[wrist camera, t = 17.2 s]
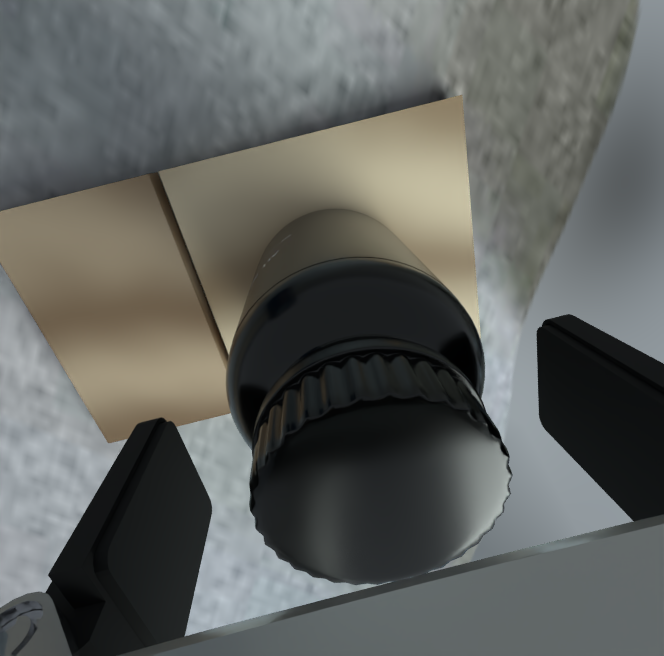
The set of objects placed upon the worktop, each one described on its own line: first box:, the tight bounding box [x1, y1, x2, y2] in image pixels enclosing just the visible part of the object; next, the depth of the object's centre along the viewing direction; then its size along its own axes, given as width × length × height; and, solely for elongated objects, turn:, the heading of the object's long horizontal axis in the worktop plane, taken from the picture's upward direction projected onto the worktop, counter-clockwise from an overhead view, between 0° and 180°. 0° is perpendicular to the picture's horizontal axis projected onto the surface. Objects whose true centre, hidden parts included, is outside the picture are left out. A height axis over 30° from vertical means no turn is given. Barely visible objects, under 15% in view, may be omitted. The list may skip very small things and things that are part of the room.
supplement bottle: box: [226, 209, 512, 585], centre depth 13 cm, size 7×7×12 cm
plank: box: [158, 95, 481, 354], centre depth 18 cm, size 12×12×1 cm
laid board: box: [0, 172, 231, 443], centre depth 18 cm, size 12×7×1 cm, turn 13°
